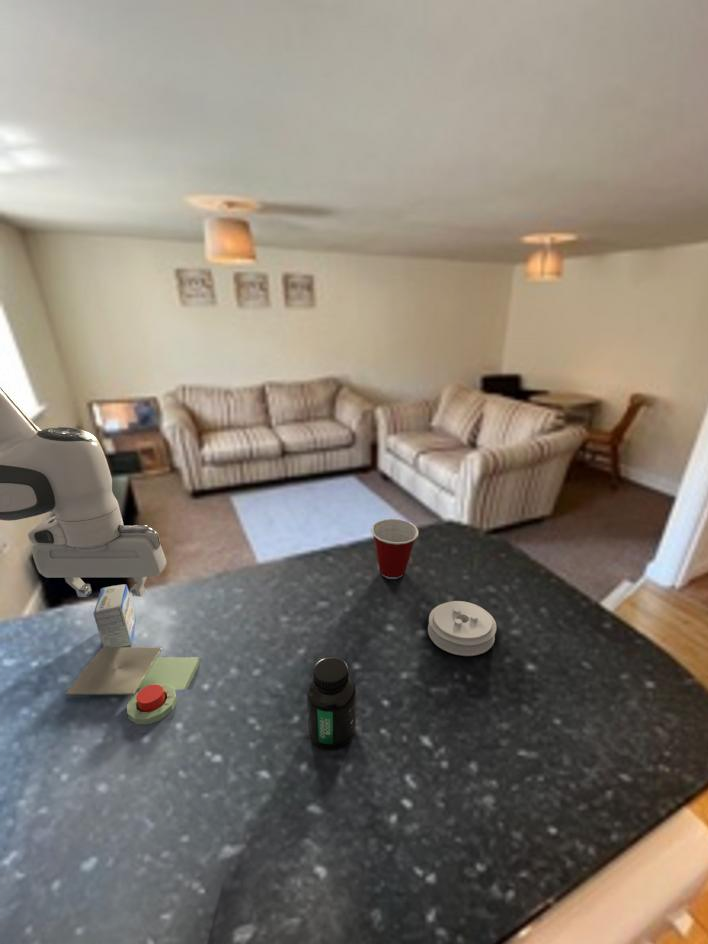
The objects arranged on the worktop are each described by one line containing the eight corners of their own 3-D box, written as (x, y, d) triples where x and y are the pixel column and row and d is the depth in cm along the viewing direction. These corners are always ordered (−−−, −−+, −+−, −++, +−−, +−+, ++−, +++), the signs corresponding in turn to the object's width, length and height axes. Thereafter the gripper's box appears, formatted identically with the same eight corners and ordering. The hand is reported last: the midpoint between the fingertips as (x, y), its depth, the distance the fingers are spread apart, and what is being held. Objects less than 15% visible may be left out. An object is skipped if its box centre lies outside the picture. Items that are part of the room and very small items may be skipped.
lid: (507, 648, 83) (511, 626, 81) (450, 668, 78) (453, 646, 76) (468, 609, 94) (471, 590, 92) (415, 625, 89) (417, 604, 87)
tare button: (134, 712, 65) (131, 703, 64) (145, 692, 68) (143, 684, 67) (159, 712, 65) (157, 703, 64) (169, 692, 68) (167, 684, 68)
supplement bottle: (331, 761, 62) (329, 697, 57) (299, 732, 66) (294, 670, 61) (365, 729, 66) (366, 668, 61) (333, 704, 70) (331, 645, 65)
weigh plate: (66, 695, 67) (65, 693, 67) (102, 648, 76) (101, 647, 76) (134, 695, 67) (133, 693, 67) (162, 649, 76) (161, 647, 76)
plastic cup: (383, 591, 99) (385, 544, 94) (362, 568, 107) (362, 523, 102) (424, 579, 104) (428, 533, 99) (400, 558, 112) (403, 515, 107)
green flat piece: (53, 734, 64) (47, 719, 63) (106, 662, 77) (102, 648, 76) (168, 733, 65) (164, 718, 64) (201, 662, 78) (199, 649, 77)
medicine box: (132, 646, 81) (122, 607, 77) (104, 652, 79) (92, 612, 76) (136, 620, 88) (127, 583, 84) (110, 625, 86) (99, 587, 82)
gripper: (164, 517, 77) (178, 584, 83) (42, 517, 77) (65, 585, 82) (147, 534, 72) (164, 605, 77) (16, 534, 71) (43, 605, 77)
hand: (112, 594), depth 80 cm, fingers open, 8 cm apart
